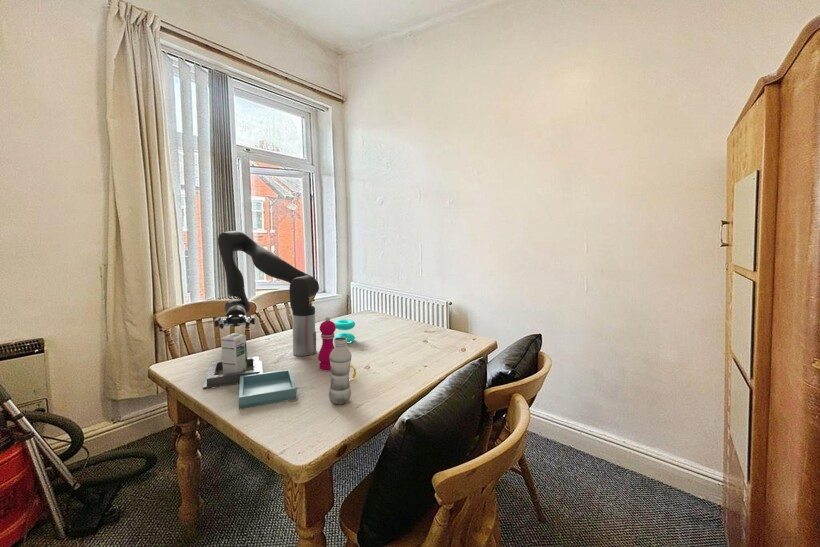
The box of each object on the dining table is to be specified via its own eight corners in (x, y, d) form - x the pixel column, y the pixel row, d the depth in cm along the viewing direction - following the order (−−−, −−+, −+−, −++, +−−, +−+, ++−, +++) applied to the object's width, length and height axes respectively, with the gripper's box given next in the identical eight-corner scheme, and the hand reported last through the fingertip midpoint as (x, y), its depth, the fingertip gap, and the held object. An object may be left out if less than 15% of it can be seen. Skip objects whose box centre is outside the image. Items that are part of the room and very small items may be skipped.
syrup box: (236, 378, 117) (235, 338, 115) (222, 376, 118) (220, 337, 116) (247, 372, 122) (246, 333, 121) (233, 370, 124) (232, 332, 122)
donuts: (336, 318, 165) (356, 319, 164) (336, 338, 166) (356, 338, 166) (331, 323, 155) (353, 324, 155) (331, 344, 156) (352, 345, 156)
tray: (291, 378, 118) (290, 369, 118) (296, 398, 104) (296, 388, 103) (240, 386, 111) (240, 376, 111) (239, 408, 97) (238, 397, 97)
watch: (353, 378, 120) (354, 362, 120) (356, 381, 118) (357, 365, 118) (337, 380, 117) (338, 364, 117) (339, 383, 115) (341, 366, 115)
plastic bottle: (330, 396, 106) (330, 335, 103) (352, 396, 106) (352, 335, 104) (327, 407, 99) (327, 342, 97) (350, 406, 100) (350, 342, 98)
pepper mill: (320, 372, 124) (320, 320, 122) (316, 365, 130) (316, 315, 128) (339, 369, 127) (339, 318, 125) (334, 362, 133) (334, 314, 131)
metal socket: (261, 362, 132) (261, 354, 132) (263, 380, 116) (263, 372, 116) (209, 368, 124) (208, 361, 124) (202, 389, 108) (202, 380, 108)
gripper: (217, 307, 139) (213, 317, 125) (254, 306, 146) (254, 314, 131) (217, 325, 140) (213, 336, 126) (254, 322, 147) (255, 333, 132)
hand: (234, 325), depth 129 cm, fingers open, 8 cm apart
